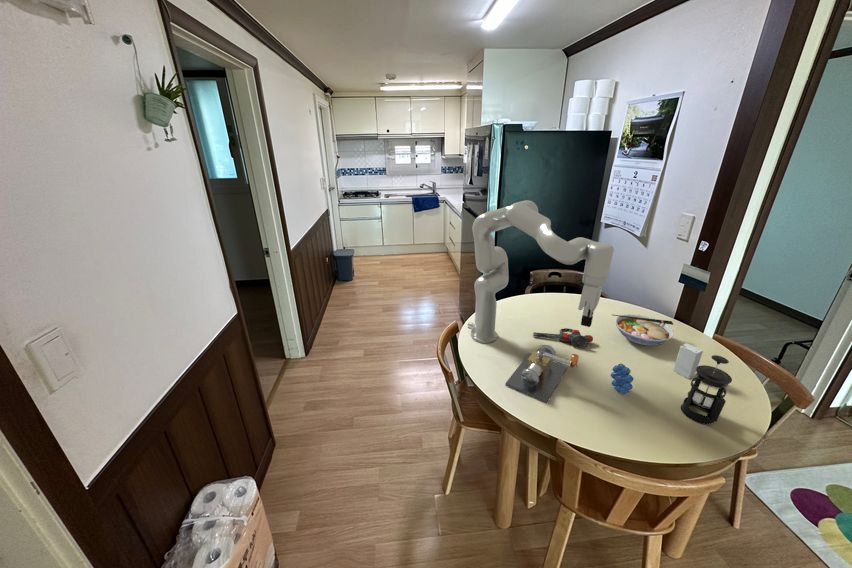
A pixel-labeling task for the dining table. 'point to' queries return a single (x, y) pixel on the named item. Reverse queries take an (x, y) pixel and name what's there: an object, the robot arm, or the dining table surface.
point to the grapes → (621, 379)
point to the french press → (704, 399)
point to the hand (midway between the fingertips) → (585, 325)
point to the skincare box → (687, 360)
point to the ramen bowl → (644, 329)
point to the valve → (569, 337)
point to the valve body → (537, 375)
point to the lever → (570, 363)
